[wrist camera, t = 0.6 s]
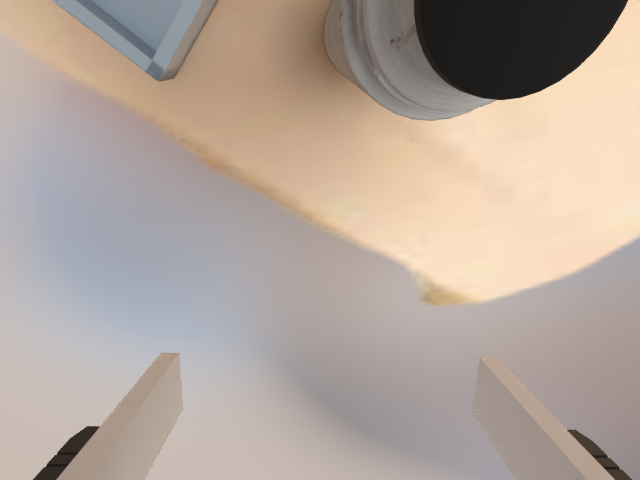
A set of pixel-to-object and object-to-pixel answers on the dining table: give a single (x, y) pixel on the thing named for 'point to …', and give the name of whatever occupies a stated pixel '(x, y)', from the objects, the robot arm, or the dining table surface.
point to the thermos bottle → (461, 49)
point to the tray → (145, 29)
